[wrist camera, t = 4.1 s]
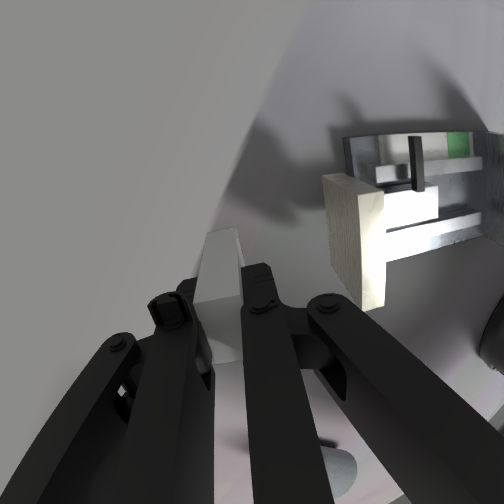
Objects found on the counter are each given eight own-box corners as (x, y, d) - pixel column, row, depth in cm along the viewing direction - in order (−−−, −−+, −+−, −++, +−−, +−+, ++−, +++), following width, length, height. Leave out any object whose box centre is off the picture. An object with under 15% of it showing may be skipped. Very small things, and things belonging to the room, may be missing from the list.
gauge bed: (489, 131, 17) (541, 141, 12) (488, 226, 21) (532, 252, 15) (342, 137, 17) (389, 143, 12) (354, 261, 21) (392, 306, 15)
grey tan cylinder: (309, 431, 30) (321, 484, 23) (350, 440, 32) (364, 485, 25) (256, 463, 33) (260, 509, 26) (298, 470, 35) (305, 511, 28)
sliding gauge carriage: (422, 133, 16) (490, 143, 10) (425, 233, 19) (481, 272, 13) (309, 143, 16) (353, 152, 10) (324, 256, 19) (361, 312, 13)
